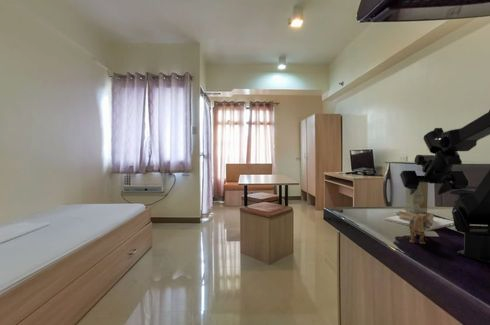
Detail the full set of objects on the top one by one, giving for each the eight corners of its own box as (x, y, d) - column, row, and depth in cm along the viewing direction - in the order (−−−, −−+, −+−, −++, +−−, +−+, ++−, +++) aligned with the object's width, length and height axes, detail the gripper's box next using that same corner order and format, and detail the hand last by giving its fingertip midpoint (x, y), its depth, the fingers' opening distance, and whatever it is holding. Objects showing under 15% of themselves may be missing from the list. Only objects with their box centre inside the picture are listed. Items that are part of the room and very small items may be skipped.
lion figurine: (433, 249, 72) (433, 216, 72) (410, 246, 75) (410, 214, 74) (424, 234, 86) (424, 206, 85) (405, 232, 88) (405, 205, 88)
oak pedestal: (420, 223, 95) (420, 215, 95) (399, 218, 103) (399, 210, 102) (433, 220, 99) (433, 212, 99) (412, 216, 106) (412, 208, 106)
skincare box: (413, 213, 98) (414, 180, 97) (404, 211, 102) (404, 179, 102) (428, 212, 99) (428, 180, 98) (418, 210, 103) (419, 179, 103)
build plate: (428, 230, 89) (428, 228, 89) (385, 219, 104) (385, 217, 104) (457, 223, 97) (457, 221, 97) (413, 214, 111) (413, 213, 111)
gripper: (464, 146, 87) (444, 177, 98) (402, 147, 90) (390, 176, 101) (480, 171, 79) (457, 201, 90) (412, 171, 83) (398, 200, 94)
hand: (424, 193), depth 94 cm, fingers open, 9 cm apart
